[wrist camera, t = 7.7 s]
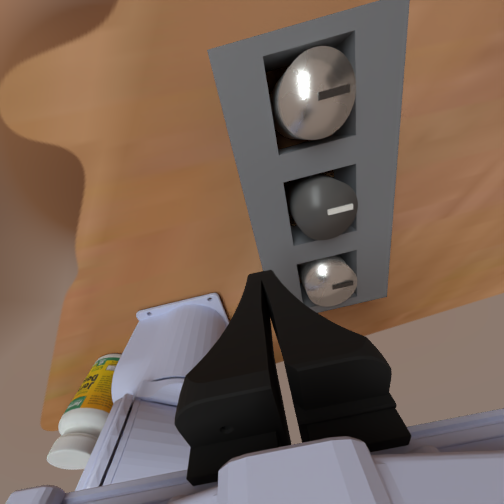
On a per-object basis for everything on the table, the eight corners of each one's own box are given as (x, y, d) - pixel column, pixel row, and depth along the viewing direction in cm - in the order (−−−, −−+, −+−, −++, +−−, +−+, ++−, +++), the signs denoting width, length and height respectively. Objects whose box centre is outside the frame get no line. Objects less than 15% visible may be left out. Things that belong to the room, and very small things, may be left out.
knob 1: (274, 145, 18) (286, 148, 14) (263, 78, 15) (273, 57, 11) (328, 131, 17) (357, 129, 13) (324, 61, 15) (357, 34, 11)
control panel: (270, 296, 25) (276, 322, 22) (213, 69, 15) (207, 50, 12) (364, 274, 25) (386, 296, 21) (368, 25, 15) (410, -9, 11)
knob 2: (297, 283, 24) (310, 312, 20) (291, 248, 22) (305, 273, 18) (337, 273, 24) (358, 301, 20) (335, 238, 22) (357, 260, 18)
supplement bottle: (128, 382, 31) (87, 477, 22) (89, 369, 29) (28, 466, 20) (147, 362, 29) (112, 455, 20) (107, 345, 27) (49, 441, 18)
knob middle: (288, 225, 21) (301, 247, 17) (280, 178, 19) (293, 190, 15) (334, 214, 21) (358, 233, 17) (331, 165, 18) (358, 173, 14)
